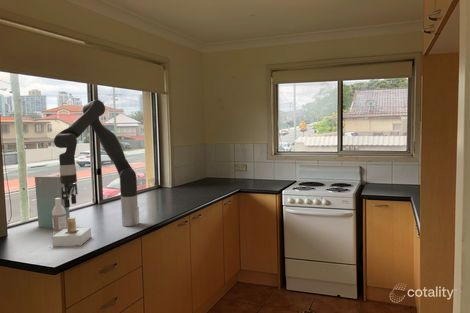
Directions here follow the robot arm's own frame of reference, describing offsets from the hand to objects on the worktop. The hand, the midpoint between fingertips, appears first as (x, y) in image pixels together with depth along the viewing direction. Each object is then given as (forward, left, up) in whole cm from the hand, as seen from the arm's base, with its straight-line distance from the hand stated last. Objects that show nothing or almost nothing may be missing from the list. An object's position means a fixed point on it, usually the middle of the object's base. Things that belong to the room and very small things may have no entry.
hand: (70, 205), depth 193 cm
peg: (0, 0, -19) cm, 19 cm away
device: (+24, -34, -19) cm, 46 cm away
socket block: (0, 0, -19) cm, 19 cm away
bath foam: (+12, -14, -19) cm, 27 cm away
